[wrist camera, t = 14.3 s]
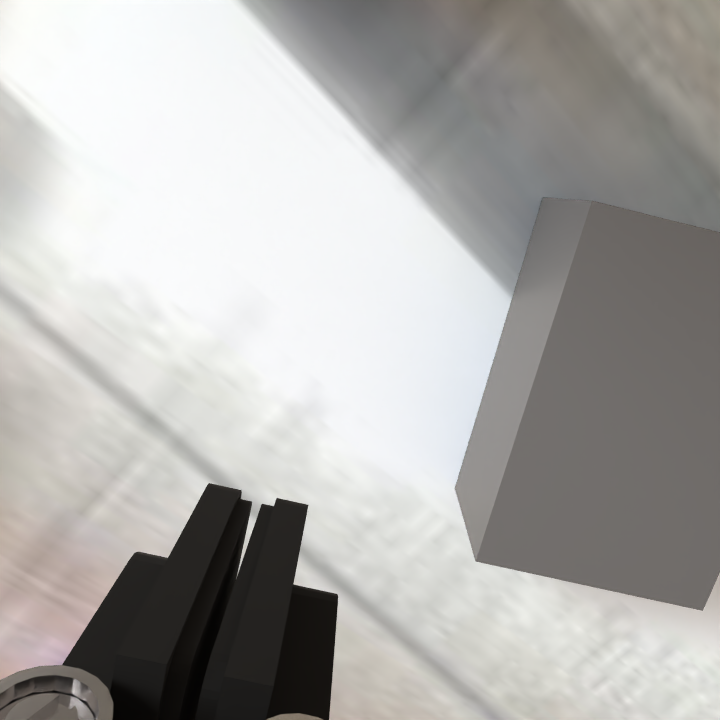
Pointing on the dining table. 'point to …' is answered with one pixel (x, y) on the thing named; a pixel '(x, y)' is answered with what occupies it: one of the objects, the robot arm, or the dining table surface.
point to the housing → (604, 409)
